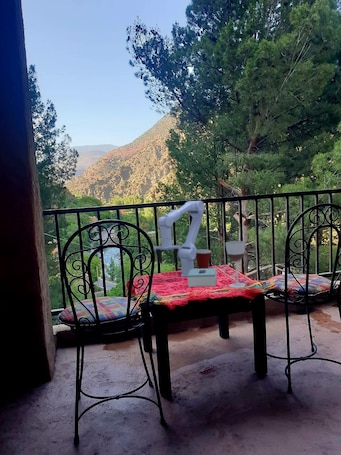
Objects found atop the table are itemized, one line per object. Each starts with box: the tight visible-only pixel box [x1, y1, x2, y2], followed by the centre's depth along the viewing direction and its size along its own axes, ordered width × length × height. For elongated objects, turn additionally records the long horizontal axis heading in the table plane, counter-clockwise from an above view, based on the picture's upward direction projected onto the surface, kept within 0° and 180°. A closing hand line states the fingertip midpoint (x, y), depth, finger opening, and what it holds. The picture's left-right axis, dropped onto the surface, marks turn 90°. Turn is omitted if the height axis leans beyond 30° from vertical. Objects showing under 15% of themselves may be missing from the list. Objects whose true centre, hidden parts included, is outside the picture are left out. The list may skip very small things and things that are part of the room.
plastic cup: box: [195, 248, 212, 269], centre depth 220 cm, size 11×11×12 cm
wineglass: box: [225, 240, 246, 289], centre depth 180 cm, size 9×10×22 cm
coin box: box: [186, 267, 218, 288], centre depth 191 cm, size 14×14×6 cm
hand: (168, 262), depth 199 cm, fingers open, 7 cm apart
